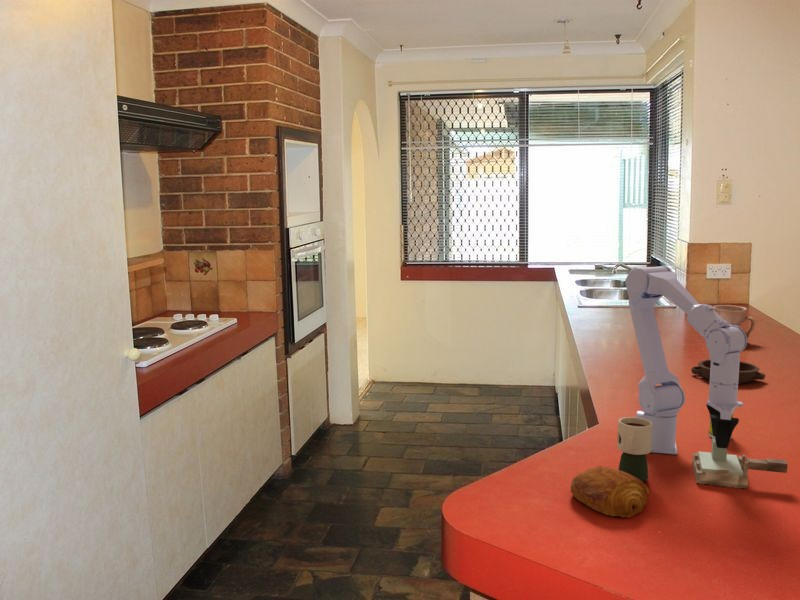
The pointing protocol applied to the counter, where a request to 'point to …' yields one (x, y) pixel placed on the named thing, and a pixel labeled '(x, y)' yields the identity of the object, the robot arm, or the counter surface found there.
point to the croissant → (610, 491)
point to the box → (721, 475)
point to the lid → (719, 461)
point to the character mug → (634, 445)
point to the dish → (745, 371)
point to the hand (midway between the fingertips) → (720, 441)
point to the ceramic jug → (734, 315)
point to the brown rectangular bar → (767, 465)
